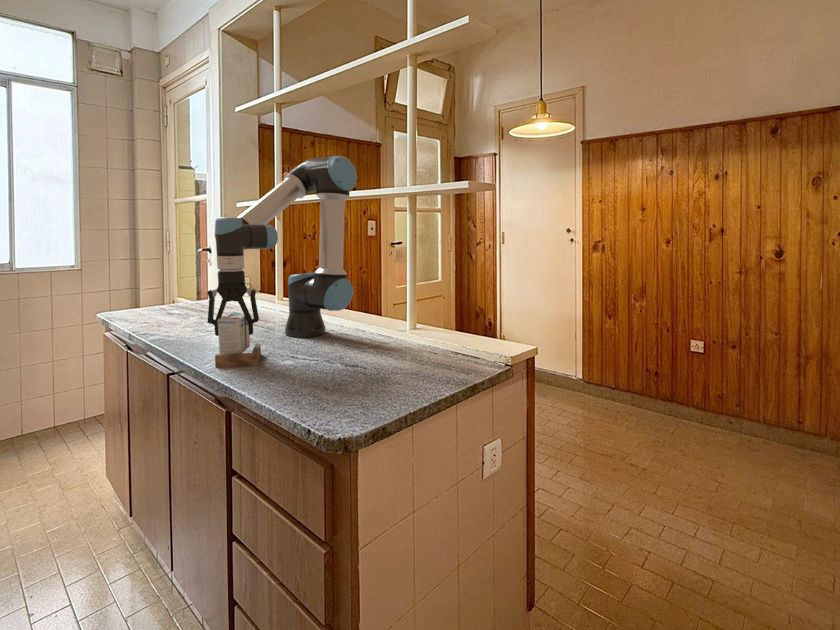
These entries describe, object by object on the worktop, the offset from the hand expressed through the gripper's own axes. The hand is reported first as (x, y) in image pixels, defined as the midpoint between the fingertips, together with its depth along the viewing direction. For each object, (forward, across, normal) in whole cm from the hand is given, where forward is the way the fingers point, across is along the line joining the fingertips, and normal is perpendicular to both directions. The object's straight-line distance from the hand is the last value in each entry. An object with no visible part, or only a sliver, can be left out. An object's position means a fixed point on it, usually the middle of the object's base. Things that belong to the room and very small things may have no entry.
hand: (235, 345), depth 157 cm
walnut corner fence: (+4, +1, -2) cm, 5 cm away
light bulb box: (+2, 0, 0) cm, 2 cm away
